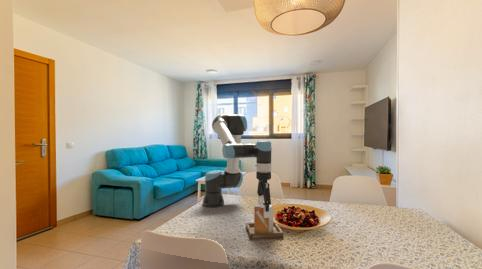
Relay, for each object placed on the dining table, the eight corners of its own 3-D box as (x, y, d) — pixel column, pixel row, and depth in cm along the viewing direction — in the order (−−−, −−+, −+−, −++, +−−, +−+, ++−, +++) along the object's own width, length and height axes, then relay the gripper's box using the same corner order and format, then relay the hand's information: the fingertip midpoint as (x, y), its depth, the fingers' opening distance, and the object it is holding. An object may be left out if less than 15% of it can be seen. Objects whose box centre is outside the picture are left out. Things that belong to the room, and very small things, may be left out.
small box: (254, 231, 116) (254, 206, 116) (259, 227, 122) (259, 202, 122) (269, 235, 113) (269, 208, 113) (273, 230, 118) (273, 204, 118)
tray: (246, 227, 124) (246, 223, 124) (275, 226, 126) (275, 221, 126) (250, 239, 110) (250, 234, 110) (283, 237, 112) (283, 232, 112)
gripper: (252, 167, 129) (251, 204, 130) (261, 176, 105) (261, 222, 105) (265, 167, 130) (265, 204, 131) (277, 175, 106) (277, 221, 106)
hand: (263, 212), depth 118 cm, fingers open, 13 cm apart
